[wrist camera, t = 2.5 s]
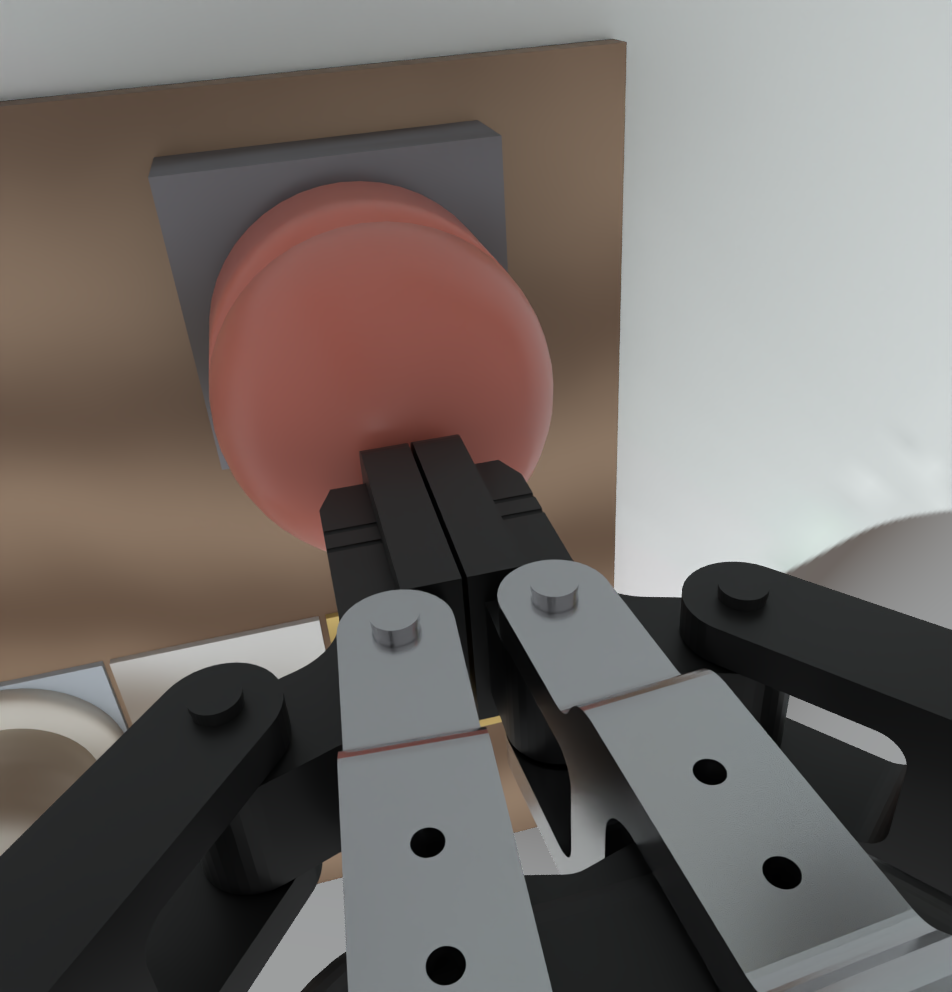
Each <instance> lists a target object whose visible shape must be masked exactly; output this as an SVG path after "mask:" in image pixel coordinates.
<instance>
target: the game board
mask: <svg viewBox="0 0 952 992" xmlns="http://www.w3.org/2000/svg"><path fill="white" fill-rule="evenodd" d="M626 45H627V42H623V41H619V40H615V39H610V40H600V41H590V42H580V43H571V44H561V45H551V46H541V47H531V48H521V49H512V50H502V51H492V52H482V53H472V54H463V55H453V56H443V57H433V58H423V59H413V60H404V61H394V62H384V63H374V64H364V65H355V66H345V67H335V68H325V69H315V70H305V71H296V72H286V73H276V74H266V75H256V76H247V77H237V78H227V79H217V80H207V81H197V82H188V83H178V84H168V85H158V86H148V87H139V88H129V89H119V90H109V91H99V92H90V93H80V94H70V95H60V96H50V97H40V98H31V99H21V100H11V101H1V102H0V690H6V689H20V688H25V689H43V690H51V691H56V692H61V693H65V694H68V695H72V696H75V697H78V698H80V699H82V700H85V701H87V702H89V703H91V704H93V705H95V706H96V707H98V708H100V709H101V710H103V711H104V712H105V713H107V714H108V715H109V716H110V717H111V718H112V719H113V720H114V721H115V722H116V723H117V724H118V725H119V727H120V728H121V730H122V731H123V733H125V732H126V731H127V730H128V729H129V728H130V727H131V726H132V725H133V724H134V723H135V722H136V721H137V720H138V719H139V718H140V717H141V716H142V715H143V714H144V713H145V712H146V711H147V710H148V709H149V708H150V707H151V706H152V705H153V704H154V703H155V702H156V701H157V700H158V699H159V698H160V697H161V696H162V695H163V694H164V693H165V692H166V691H167V690H168V689H169V688H170V687H172V686H173V685H174V684H175V683H177V682H178V681H180V680H181V679H182V678H184V677H186V676H188V675H190V674H192V673H193V672H196V671H198V670H201V669H203V668H206V667H210V666H213V665H218V664H223V663H235V662H239V663H249V664H254V665H258V666H260V667H263V668H265V669H267V670H269V671H270V672H272V673H273V674H274V675H275V676H276V677H277V678H278V679H280V678H282V677H284V676H286V675H288V674H290V673H293V672H295V671H297V670H299V669H301V668H303V667H304V666H306V665H308V664H309V663H311V662H312V661H314V660H315V659H317V658H318V657H319V656H320V655H321V654H322V653H324V652H325V650H326V649H327V648H328V647H329V646H330V645H331V643H332V642H333V640H334V638H335V636H336V634H337V627H338V624H339V616H338V611H337V605H336V600H335V594H334V589H333V583H332V578H331V572H330V567H329V561H328V556H327V552H326V551H323V550H321V549H319V548H316V547H314V546H312V545H310V544H307V543H305V542H303V541H302V540H300V539H298V538H296V537H295V536H293V535H291V534H290V533H288V532H286V531H285V530H283V529H282V528H280V527H279V526H278V525H277V524H275V523H274V522H273V521H272V520H271V519H269V518H268V517H267V516H266V515H265V514H264V513H263V512H262V511H261V510H260V509H259V508H258V507H257V506H256V504H255V503H254V502H253V501H252V500H251V499H250V498H249V497H248V496H247V495H246V493H245V492H244V491H243V489H242V488H241V486H240V485H239V483H238V482H237V481H236V479H235V478H234V476H233V474H232V472H231V470H230V468H229V466H228V464H227V462H226V460H225V458H224V456H223V454H222V452H221V449H220V446H219V443H218V440H217V437H216V434H215V431H214V426H213V420H212V414H211V408H210V402H209V316H210V308H211V299H212V295H213V291H214V288H215V284H216V280H217V278H218V275H219V273H220V271H221V268H222V266H223V264H224V261H225V260H226V258H227V256H228V255H229V253H230V252H231V250H232V248H233V247H234V245H235V244H236V242H237V241H238V240H239V239H240V237H241V236H242V235H243V234H244V233H245V231H246V230H247V229H248V228H249V227H250V226H251V225H252V224H253V223H254V222H255V221H257V220H258V219H259V218H260V217H261V216H262V215H263V214H264V213H266V212H267V211H269V210H270V209H272V208H273V207H275V206H276V205H278V204H279V203H280V202H282V201H284V200H286V199H288V198H290V197H292V196H294V195H296V194H298V193H301V192H304V191H307V190H310V189H312V188H315V187H318V186H323V185H328V184H333V183H338V182H352V181H367V182H380V183H385V184H390V185H394V186H399V187H403V188H405V189H408V190H411V191H413V192H416V193H419V194H421V195H423V196H425V197H427V198H429V199H430V200H432V201H434V202H436V203H438V204H439V205H441V206H442V207H443V208H445V209H446V210H448V211H449V212H450V213H452V214H453V215H454V216H455V217H456V218H457V219H458V220H459V221H460V222H461V223H462V224H464V225H465V226H466V227H467V228H468V229H469V231H470V232H471V233H472V234H473V235H474V236H475V237H476V238H477V239H478V241H479V242H480V243H481V244H482V245H483V246H484V247H485V248H486V249H487V250H488V252H489V253H490V254H491V255H492V256H493V257H494V258H495V259H496V260H497V261H498V263H499V264H500V265H501V266H502V267H503V268H504V269H505V270H506V271H507V272H508V274H509V275H510V276H511V277H512V279H513V280H514V281H515V283H516V284H517V285H518V286H519V288H520V289H521V290H522V292H523V293H524V295H525V296H526V298H527V300H528V301H529V303H530V305H531V307H532V308H533V310H534V312H535V314H536V315H537V318H538V320H539V323H540V325H541V328H542V330H543V333H544V336H545V339H546V343H547V347H548V351H549V355H550V359H551V364H552V374H553V407H552V416H551V422H550V427H549V432H548V435H547V438H546V441H545V444H544V447H543V450H542V453H541V456H540V458H539V461H538V463H537V465H536V467H535V469H534V471H533V473H532V475H531V476H530V478H529V480H528V481H527V484H528V485H529V487H530V489H531V491H532V492H533V496H534V497H536V499H537V501H538V502H539V504H540V506H541V507H542V511H543V512H545V514H546V516H547V517H548V519H549V521H550V522H551V524H552V526H553V527H554V529H555V531H556V533H557V534H558V536H559V538H560V539H561V541H562V543H563V544H564V546H565V548H566V549H567V551H568V553H569V554H570V556H571V558H572V559H573V561H574V562H578V563H581V564H584V565H587V566H589V567H591V568H593V569H595V570H597V571H598V572H599V573H601V574H602V575H603V576H604V577H605V578H606V579H607V580H608V582H609V583H610V584H611V586H612V587H613V588H614V560H615V517H616V474H617V431H618V388H619V345H620V302H621V259H622V216H623V174H624V131H625V88H626ZM479 723H480V726H481V727H484V726H485V727H486V728H487V730H488V733H489V736H490V740H491V743H492V747H493V751H494V756H495V760H496V764H497V768H498V772H499V776H500V780H501V784H502V788H503V792H504V796H505V800H506V804H507V808H508V813H509V817H510V821H511V825H512V829H513V833H515V832H519V831H523V830H527V829H530V828H534V827H537V825H536V822H535V820H534V818H533V816H532V814H531V812H530V810H529V807H528V805H527V803H526V801H525V799H524V797H523V795H522V793H521V790H520V788H519V786H518V784H517V782H516V780H515V778H514V776H513V773H512V771H511V769H510V767H509V764H508V760H507V748H506V731H505V728H504V726H503V723H502V720H501V718H500V716H496V717H492V718H487V719H483V720H479ZM342 877H343V873H342V852H340V853H338V854H337V855H335V856H333V857H331V858H330V859H328V860H326V861H324V862H323V865H322V871H321V875H320V878H319V881H318V883H322V882H326V881H330V880H334V879H338V878H342ZM318 883H317V884H318Z"/></svg>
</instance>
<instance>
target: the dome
mask: <svg viewBox="0 0 952 992" xmlns="http://www.w3.org/2000/svg"><path fill="white" fill-rule="evenodd" d="M209 402H210V408H211V414H212V420H213V426H214V431H215V434H216V437H217V440H218V443H219V446H220V449H221V452H222V454H223V456H224V458H225V460H226V462H227V464H228V466H229V468H230V470H231V472H232V474H233V476H234V478H235V479H236V481H237V482H238V483H239V485H240V486H241V488H242V489H243V491H244V492H245V493H246V495H247V496H248V497H249V498H250V499H251V500H252V501H253V502H254V503H255V504H256V506H257V507H258V508H259V509H260V510H261V511H262V512H263V513H264V514H265V515H266V516H267V517H268V518H269V519H271V520H272V521H273V522H274V523H275V524H277V525H278V526H279V527H280V528H282V529H283V530H285V531H286V532H288V533H290V534H291V535H293V536H295V537H296V538H298V539H300V540H302V541H303V542H305V543H307V544H310V545H312V546H314V547H316V548H319V549H321V550H323V551H326V552H327V550H326V545H325V540H324V534H323V529H322V523H321V518H320V512H319V510H320V508H321V506H322V504H323V502H324V501H325V499H326V497H327V495H328V493H329V491H330V490H331V489H337V488H342V487H348V486H354V485H359V484H363V479H362V472H361V465H360V457H359V451H363V450H369V449H375V448H381V447H386V446H392V445H398V444H404V443H408V445H409V447H410V443H411V442H415V441H421V440H427V439H433V438H439V437H444V436H450V435H456V434H459V435H460V437H461V439H462V441H463V443H464V445H465V446H466V448H467V450H468V452H469V454H470V456H471V458H472V460H473V462H474V464H477V463H483V462H489V461H494V460H500V461H501V462H503V463H504V464H506V465H508V466H509V467H511V468H513V469H514V470H516V471H518V472H519V473H521V474H522V475H523V477H524V479H525V480H526V482H527V481H528V480H529V478H530V476H531V475H532V473H533V471H534V469H535V467H536V465H537V463H538V461H539V458H540V456H541V453H542V450H543V447H544V444H545V441H546V438H547V435H548V432H549V427H550V422H551V416H552V407H553V374H552V364H551V359H550V355H549V351H548V347H547V343H546V339H545V336H544V333H543V330H542V328H541V325H540V323H539V320H538V318H537V315H536V314H535V312H534V310H533V308H532V307H531V305H530V303H529V301H528V300H527V298H526V296H525V295H524V293H523V292H522V290H521V289H520V288H519V286H518V285H517V284H516V283H515V281H514V280H513V279H512V277H511V276H510V275H509V274H508V272H507V271H506V270H505V269H504V268H503V267H502V266H501V265H500V264H499V263H498V261H497V260H496V259H495V258H494V257H493V256H492V255H491V254H490V253H489V252H488V250H487V249H486V248H485V247H484V246H483V245H482V244H481V243H480V242H479V241H478V239H477V238H476V237H475V236H474V235H473V234H472V233H471V232H470V231H469V229H468V228H467V227H466V226H465V225H464V224H462V223H461V222H460V221H459V220H458V219H457V218H456V217H455V216H454V215H453V214H452V213H450V212H449V211H448V210H446V209H445V208H443V207H442V206H441V205H439V204H438V203H436V202H434V201H432V200H430V199H429V198H427V197H425V196H423V195H421V194H419V193H416V192H413V191H411V190H408V189H405V188H403V187H399V186H394V185H390V184H385V183H380V182H367V181H352V182H338V183H333V184H328V185H323V186H318V187H315V188H312V189H310V190H307V191H304V192H301V193H298V194H296V195H294V196H292V197H290V198H288V199H286V200H284V201H282V202H280V203H279V204H278V205H276V206H275V207H273V208H272V209H270V210H269V211H267V212H266V213H264V214H263V215H262V216H261V217H260V218H259V219H258V220H257V221H255V222H254V223H253V224H252V225H251V226H250V227H249V228H248V229H247V230H246V231H245V233H244V234H243V235H242V236H241V237H240V239H239V240H238V241H237V242H236V244H235V245H234V247H233V248H232V250H231V252H230V253H229V255H228V256H227V258H226V260H225V261H224V264H223V266H222V268H221V271H220V273H219V275H218V278H217V280H216V284H215V288H214V291H213V295H212V299H211V308H210V316H209Z"/></svg>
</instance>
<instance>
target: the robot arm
mask: <svg viewBox="0 0 952 992" xmlns="http://www.w3.org/2000/svg"><path fill="white" fill-rule="evenodd" d="M359 457H360V465H361V472H362V479H363V484H359V485H354V486H348V487H342V488H337V489H331V490H330V491H329V493H328V495H327V497H326V499H325V501H324V502H323V504H322V506H321V508H320V510H319V512H320V518H321V523H322V529H323V534H324V540H325V545H326V550H327V556H328V561H329V567H330V572H331V578H332V583H333V589H334V594H335V600H336V605H337V611H338V616H339V624H338V627H337V634H336V636H335V638H334V640H333V642H332V643H331V645H330V646H329V647H328V648H327V649H326V650H325V652H324V653H322V654H321V655H320V656H319V657H318V658H317V659H315V660H314V661H312V662H311V663H309V664H308V665H306V666H304V667H303V668H301V669H299V670H297V671H295V672H293V673H290V674H288V675H286V676H284V677H282V678H280V679H278V678H277V677H276V676H275V675H274V674H273V673H272V672H270V671H269V670H267V669H265V668H263V667H260V666H258V665H254V664H249V663H239V662H235V663H223V664H218V665H213V666H210V667H206V668H203V669H201V670H198V671H196V672H193V673H192V674H190V675H188V676H186V677H184V678H182V679H181V680H180V681H178V682H177V683H175V684H174V685H173V686H172V687H170V688H169V689H168V690H167V691H166V692H165V693H164V694H163V695H162V696H161V697H160V698H159V699H158V700H157V701H156V702H155V703H154V704H153V705H152V706H151V707H150V708H149V709H148V710H147V711H146V712H145V713H144V714H143V715H142V716H141V717H140V718H139V719H138V720H137V721H136V722H135V723H134V724H133V725H132V726H131V727H130V728H129V729H128V730H127V731H126V732H125V733H124V734H123V735H122V736H121V737H120V738H119V739H118V740H117V741H116V742H115V743H114V744H113V745H112V746H111V747H110V748H109V749H108V750H107V751H106V752H105V753H104V754H103V755H102V756H101V757H100V758H99V759H98V760H97V761H96V762H95V763H94V764H93V765H92V766H90V767H89V768H88V769H87V770H86V771H85V772H84V773H83V774H82V775H81V776H80V777H79V778H78V779H77V780H76V781H75V782H74V783H73V784H72V785H71V786H70V787H69V788H68V789H67V790H66V791H65V792H64V793H63V794H62V795H61V796H60V797H59V798H58V799H57V800H56V801H55V802H54V803H53V804H52V805H51V806H50V807H49V808H48V809H47V810H46V811H45V812H44V813H43V814H42V815H41V816H40V817H39V818H38V819H37V820H36V821H35V822H34V823H33V824H32V825H31V826H30V827H29V828H28V829H27V830H26V831H25V832H24V833H23V834H22V835H21V836H20V837H19V838H18V839H17V840H16V841H15V842H14V843H13V844H12V845H11V846H10V847H9V848H8V849H7V850H6V851H5V852H4V853H3V854H2V855H1V856H0V992H248V990H249V989H250V987H251V985H252V984H253V982H254V981H255V979H256V978H257V976H258V975H259V973H260V972H261V970H262V968H263V967H264V966H265V964H266V962H267V961H268V959H269V957H270V956H271V955H272V953H273V952H274V950H275V949H276V947H277V946H278V944H279V943H280V941H281V939H282V938H283V936H284V935H285V933H286V932H287V930H288V929H289V927H290V926H291V924H292V923H293V921H294V919H295V918H296V916H297V915H298V913H299V912H300V910H301V909H302V907H303V906H304V904H305V903H306V901H307V900H308V898H309V896H310V895H311V893H312V892H313V890H314V889H315V887H316V885H317V883H318V881H319V878H320V875H321V871H322V865H323V862H324V861H326V860H328V859H330V858H331V857H333V856H335V855H337V854H338V853H340V852H342V873H343V893H344V914H345V935H346V952H345V953H343V954H342V955H341V956H339V957H338V958H336V959H335V960H334V961H333V962H331V963H330V964H329V965H328V966H327V967H326V968H325V969H323V970H322V971H321V972H320V973H319V974H318V975H317V976H315V977H314V978H313V979H312V980H311V981H310V982H309V983H308V984H307V985H306V987H305V988H304V989H303V990H302V991H301V992H952V630H950V629H947V628H944V627H941V626H938V625H936V624H932V623H929V622H927V621H924V620H920V619H917V618H915V617H912V616H909V615H906V614H903V613H900V612H897V611H894V610H891V609H888V608H885V607H882V606H879V605H876V604H873V603H870V602H867V601H864V600H861V599H859V598H856V597H853V596H850V595H847V594H844V593H841V592H838V591H835V590H832V589H829V588H826V587H823V586H820V585H817V584H814V583H811V582H808V581H805V580H802V579H800V578H797V577H794V576H791V575H788V574H785V573H782V572H779V571H776V570H773V569H770V568H767V567H764V566H760V565H757V564H751V563H745V562H722V563H715V564H711V565H707V566H705V567H702V568H700V569H698V570H696V571H695V572H693V573H692V574H691V575H690V576H689V577H688V578H687V579H686V581H685V582H684V585H683V588H682V598H676V597H637V596H629V595H623V594H619V593H617V592H616V591H615V589H614V588H613V587H612V586H611V584H610V583H609V582H608V580H607V579H606V578H605V577H604V576H603V575H602V574H601V573H599V572H598V571H597V570H595V569H593V568H591V567H589V566H587V565H584V564H581V563H578V562H574V561H573V559H572V558H571V556H570V554H569V553H568V551H567V549H566V548H565V546H564V544H563V543H562V541H561V539H560V538H559V536H558V534H557V533H556V531H555V529H554V527H553V526H552V524H551V522H550V521H549V519H548V517H547V516H546V514H545V512H543V511H542V507H541V506H540V504H539V502H538V501H537V499H536V497H534V496H533V492H532V491H531V489H530V487H529V485H528V484H527V482H526V480H525V479H524V477H523V475H522V474H521V473H519V472H518V471H516V470H514V469H513V468H511V467H509V466H508V465H506V464H504V463H503V462H501V461H500V460H494V461H489V462H483V463H477V464H474V462H473V460H472V458H471V456H470V454H469V452H468V450H467V448H466V446H465V445H464V443H463V441H462V439H461V437H460V435H459V434H456V435H450V436H444V437H439V438H433V439H427V440H421V441H415V442H411V443H410V447H409V445H408V443H404V444H398V445H392V446H386V447H381V448H375V449H369V450H363V451H359ZM789 695H791V696H794V697H796V698H798V699H801V700H803V701H806V702H808V703H811V704H813V705H815V706H818V707H820V708H823V709H825V710H827V711H830V712H832V713H835V714H837V715H840V716H842V717H844V718H847V719H849V720H852V721H854V722H856V723H859V724H862V725H864V726H866V727H869V728H871V729H873V730H876V731H878V732H880V733H882V734H884V735H885V736H887V737H888V738H890V739H891V740H892V741H894V743H895V744H896V745H897V746H898V747H899V748H900V749H901V751H902V752H903V754H904V756H905V758H906V762H907V765H902V764H896V763H892V762H889V761H887V760H885V759H882V758H880V757H877V756H875V755H873V754H870V753H868V752H866V751H863V750H861V749H859V748H856V747H854V746H852V745H849V744H847V743H845V742H842V741H840V740H838V739H835V738H833V737H831V736H828V735H826V734H824V733H821V732H819V731H817V730H814V729H812V728H810V727H807V726H805V725H803V724H800V723H798V722H796V721H793V720H791V719H789V718H786V713H787V707H788V701H789ZM496 716H500V718H501V720H502V723H503V726H504V728H505V731H506V748H507V760H508V764H509V767H510V769H511V771H512V773H513V776H514V778H515V780H516V782H517V784H518V786H519V788H520V790H521V793H522V795H523V797H524V799H525V801H526V803H527V805H528V807H529V810H530V812H531V814H532V816H533V818H534V820H535V822H536V825H537V827H538V829H539V831H540V833H541V835H542V837H543V839H544V841H545V843H546V846H547V848H548V850H549V852H550V854H551V856H552V859H553V861H554V863H555V865H556V867H557V869H558V871H559V873H560V875H524V874H523V870H522V866H521V861H520V858H519V853H518V849H517V845H516V841H515V837H514V833H513V829H512V825H511V821H510V817H509V813H508V808H507V804H506V800H505V796H504V792H503V788H502V784H501V780H500V776H499V772H498V768H497V764H496V760H495V756H494V751H493V747H492V743H491V740H490V736H489V733H488V730H487V728H486V727H485V726H484V727H481V726H480V723H479V720H483V719H487V718H492V717H496Z"/></svg>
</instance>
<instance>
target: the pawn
mask: <svg viewBox="0 0 952 992" xmlns="http://www.w3.org/2000/svg"><path fill="white" fill-rule="evenodd" d="M123 734H124V733H123V731H122V730H121V728H120V727H119V725H118V724H117V723H116V722H115V721H114V720H113V719H112V718H111V717H110V716H109V715H108V714H107V713H105V712H104V711H103V710H101V709H100V708H98V707H96V706H95V705H93V704H91V703H89V702H87V701H85V700H82V699H80V698H78V697H75V696H72V695H68V694H65V693H61V692H56V691H51V690H43V689H25V688H20V689H6V690H0V856H1V855H2V854H3V853H4V852H5V851H6V850H7V849H8V848H9V847H10V846H11V845H12V844H13V843H14V842H15V841H16V840H17V839H18V838H19V837H20V836H21V835H22V834H23V833H24V832H25V831H26V830H27V829H28V828H29V827H30V826H31V825H32V824H33V823H34V822H35V821H36V820H37V819H38V818H39V817H40V816H41V815H42V814H43V813H44V812H45V811H46V810H47V809H48V808H49V807H50V806H51V805H52V804H53V803H54V802H55V801H56V800H57V799H58V798H59V797H60V796H61V795H62V794H63V793H64V792H65V791H66V790H67V789H68V788H69V787H70V786H71V785H72V784H73V783H74V782H75V781H76V780H77V779H78V778H79V777H80V776H81V775H82V774H83V773H84V772H85V771H86V770H87V769H88V768H89V767H90V766H92V765H93V764H94V763H95V762H96V761H97V760H98V759H99V758H100V757H101V756H102V755H103V754H104V753H105V752H106V751H107V750H108V749H109V748H110V747H111V746H112V745H113V744H114V743H115V742H116V741H117V740H118V739H119V738H120V737H121V736H122V735H123Z"/></svg>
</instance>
